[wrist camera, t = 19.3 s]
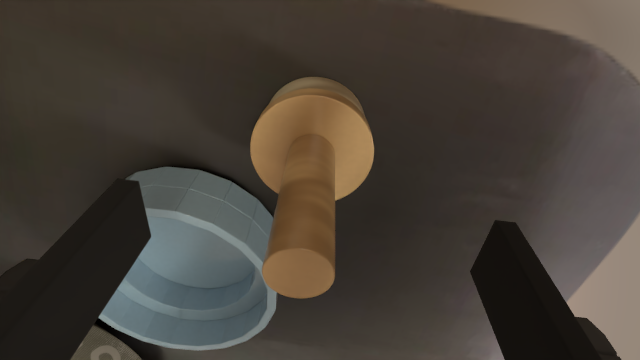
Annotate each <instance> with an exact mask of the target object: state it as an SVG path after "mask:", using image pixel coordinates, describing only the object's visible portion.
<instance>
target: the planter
mask: <svg viewBox="0 0 640 360" xmlns="http://www.w3.org/2000/svg"><path fill="white" fill-rule="evenodd" d="M71 360H142V359H141V358H140V357H139V355H138V354H137V353H136V352H134V351H133V350H132V349H131V348H130V347H129V346H127V345H126V344H125V343H123V342H122V341H121V340H119V339H117V338H116V337H114V336H113V335H111V334H110V333H109V332H107V331H106V330H105V329H103V328H102V327H100V326H99V325H97V324H95V323H94V325H93V326H92V328H91V329H90V331H89V332H88V334H87V335H86V337H85V338H84V340H83V341H82V343H81V344H80V346H79V347H78V349H77V350H76V352H75V353H74V355H73V357H72V358H71Z"/></svg>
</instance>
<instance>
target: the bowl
mask: <svg viewBox="0 0 640 360" xmlns="http://www.w3.org/2000/svg"><path fill="white" fill-rule="evenodd" d="M125 179H126V180H135V181H139V184H140V188H141V193H142V197H143V202H144V206H145V210H146V215H147V219H148V224H149V228H150V232H151V238H150V240H149V241H148V243H147V244H146V246H145V247H144V249H143V250H142V252H141V253H140V255H139V256H138V258H137V259H136V261H135V263H134V264H133V266H132V267H131V269H130V270H129V272H128V273H127V275H126V276H125V278H124V279H123V281H122V282H121V284H120V285H119V287H118V288H117V290H116V291H115V293H114V294H113V296H112V297H111V299H110V300H109V302H108V303H107V305H106V306H105V308H104V310H103V311H102V313H101V314H100V316H99V317H98V318H99V319H101V320H102V321H104V322H105V323H107V324H108V325H110V326H111V327H112V328H114V329H116V330H118V331H121V332H123V333H125V334H127V335H130V336H132V337H134V338H136V339H139V340H141V341H144V342H148V343H152V344H156V345H159V346H163V347H167V348H174V349H186V350H198V351H201V350H211V349H222V348H227V347H230V346H233V345H236V344H239V343H242V342H245V341H247V340H249V339H250V338H252V337H253V336H255V335H256V334H257V333H259V332H260V331H262V330H263V329H264V328H265V327H266V326H267V324H268V322H269V321H270V319H271V317H272V316H273V314H274V312H275V311H276V306H277V300H278V293H277V292H275V291H274V290H272V289H271V288H270V287H269V286H268V285H267V284H266V282H265V281H264V278H263V275H262V266H263V261H264V257H265V253H266V248H267V244H268V240H269V235H270V231H271V226H272V222H273V217H272V215H271V214H270V213H269V212H268V211H267V209H266V208H265V207H264V206H263V205H262V203H261V202H260V201H259V200H258V199H257V198H255V197H254V196H252V195H251V194H249V193H248V192H246V191H245V190H244V189H242V188H241V187H239V186H238V185H236V184H235V183H233V182H232V181H229V180H227V179H224V178H221V177H218V176H216V175H213V174H210V173H207V172H205V171H202V170H196V169H187V168H177V167H161V168H156V169H150V170H145V171H139V172H136V173H134V174H132V175H131V176H129V177H127V178H125Z"/></svg>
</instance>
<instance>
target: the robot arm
mask: <svg viewBox="0 0 640 360" xmlns="http://www.w3.org/2000/svg"><path fill="white" fill-rule="evenodd" d="M150 238H151V232H150V228H149V224H148V219H147V215H146V210H145V206H144V202H143V197H142V193H141V188H140V184H139V181H135V180H126V179H117V180H116V181H115V182H114V183H113V184H112V185H111V186H110V187H109V188H108V189H107V190H106V191H105V192H104V193H103V194H102V195H101V196H100V197H99V198H98V199H97V201H96V202H95V203H94V204H93V205H92V206H91V207H90V208H89V209H88V210H87V211H86V212H85V213H84V214H83V215H82V216H81V217H80V218H79V219H78V220H77V221H76V222H75V223H74V224H73V225H72V226H71V227H70V228H69V229H68V230H67V231H66V232H65V233H64V234H63V236H62V237H61V238H60V239H59V240H58V241H57V242H56V243H55V244H54V245H53V246H52V247H51V248H50V249H49V250H48V251H47V252H46V253H45V254H44V255H43V256H42V257H41V258H40V259H39V260H35V259H26V260H24V261H22V262H21V263H19V264H17V265H16V266H14V267H12V268H11V269H9V270H7V271H6V272H5V273H4V274H3V275H2V276H1V277H0V360H71V358H72V357H73V355H74V353H75V352H76V350H77V349H78V347H79V346H80V344H81V343H82V341H83V340H84V338H85V337H86V335H87V334H88V332H89V331H90V329H91V328H92V326H93V325H94V323H95V322H96V320H97V319H98V317H99V316H100V314H101V313H102V311H103V310H104V308H105V306H106V305H107V303H108V302H109V300H110V299H111V297H112V296H113V294H114V293H115V291H116V290H117V288H118V287H119V285H120V284H121V282H122V281H123V279H124V278H125V276H126V275H127V273H128V272H129V270H130V269H131V267H132V266H133V264H134V263H135V261H136V259H137V258H138V256H139V255H140V253H141V252H142V250H143V249H144V247H145V246H146V244H147V243H148V241H149V240H150ZM470 273H471V275H472V278H473V280H474V283H475V285H476V288H477V290H478V293H479V295H480V298H481V300H482V303H483V306H484V308H485V311H486V313H487V316H488V318H489V321H490V323H491V326H492V328H493V331H494V333H495V336H496V339H497V341H498V344H499V346H500V349H501V351H502V354H503V356H504V359H505V360H621V359H620V357H618V356H617V353H616V351H615V350H614V348H613V347H612V345H611V344H610V342H609V341H608V339H607V338H606V336H605V335H604V334H603V333H602V332H601V331H600V330H599V329H598V328H597V327H596V326H595V325H594V324H593V323H592V322H590V321H589V320H588V319H587V318H580V317H574V314H573V313H572V311H571V310H570V308H569V307H568V305H567V303H566V302H565V300H564V299H563V297H562V295H561V294H560V292H559V291H558V289H557V287H556V286H555V284H554V283H553V281H552V280H551V278H550V276H549V275H548V273H547V272H546V270H545V268H544V267H543V265H542V264H541V262H540V260H539V259H538V257H537V256H536V254H535V253H534V251H533V249H532V248H531V246H530V245H529V243H528V241H527V240H526V238H525V237H524V235H523V233H522V232H521V230H520V229H519V227H518V226H517V224H516V223H515V222H506V221H497V220H495V222H494V224H493V226H492V228H491V230H490V232H489V234H488V236H487V238H486V240H485V242H484V244H483V246H482V248H481V250H480V252H479V254H478V256H477V258H476V260H475V263H474V265H473V267H472V269H471V271H470Z"/></svg>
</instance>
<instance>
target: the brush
mask: <svg viewBox="0 0 640 360" xmlns="http://www.w3.org/2000/svg"><path fill="white" fill-rule="evenodd" d="M250 153H251V158H252V162H253V165H254V167H255V170H256V171H257V173H258V175H259V176H260V178H261V179H262V181H263V182H264V183H265V184H266V185H267V186H268V187H269V188H271V189H272V190H273V191H274V192H276V193H278V194H279V196H278V200H277V205H276V209H275V213H274V218H273V222H272V226H271V231H270V235H269V240H268V244H267V248H266V253H265V257H264V261H263V266H262V275H263V278H264V281H265V282H266V284H267V285H268V286H269V287H270V288H271V289H272V290H274V291H275V292H277V293H279V294H281V295H284V296H287V297H291V298H311V297H315V296H318V295H320V294H322V293H324V292H325V291H327V290H328V289H329V288H330V287H331V285H332V284H333V281H334V278H335V200H338V199H340V198H343V197H345V196H346V195H348V194H350V193H351V192H353V191H354V190H355V189H356V188H357V187H359V186H360V185H361V183H362V182H363V181H364V180H365V178H366V177H367V175H368V173H369V171H370V169H371V166H372V163H373V158H374V144H373V138H372V133H371V129H370V126H369V124H368V122H367V120H366V118H365V116H364V112H363V109H362V106H361V104H360V102H359V101H358V99H357V98H356V96H355V95H354V94H353V93H352V92H351V91H350V90H349V89H348V88H346V87H345V86H343V85H342V84H340V83H338V82H336V81H334V80H331V79H328V78H322V77H305V78H301V79H297V80H294V81H292V82H290V83H288V84H286V85H285V86H283V87H282V88H281V89H280V90H279V91H278V92H277V93H276V94H275V95H274V96H273V98H272V99H271V101H270V103H269V105H268V106H267V107H266V108H265V109H264V111H263V112H262V113H261V115H260V117H259V119H258V120H257V123H256V125H255V127H254V130H253V133H252V136H251V141H250Z"/></svg>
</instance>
